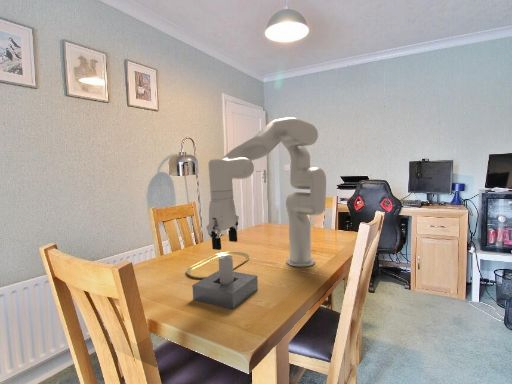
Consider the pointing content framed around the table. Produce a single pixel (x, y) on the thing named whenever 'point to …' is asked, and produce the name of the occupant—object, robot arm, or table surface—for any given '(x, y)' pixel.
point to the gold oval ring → (214, 258)
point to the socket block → (225, 289)
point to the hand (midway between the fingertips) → (225, 245)
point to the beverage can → (226, 269)
